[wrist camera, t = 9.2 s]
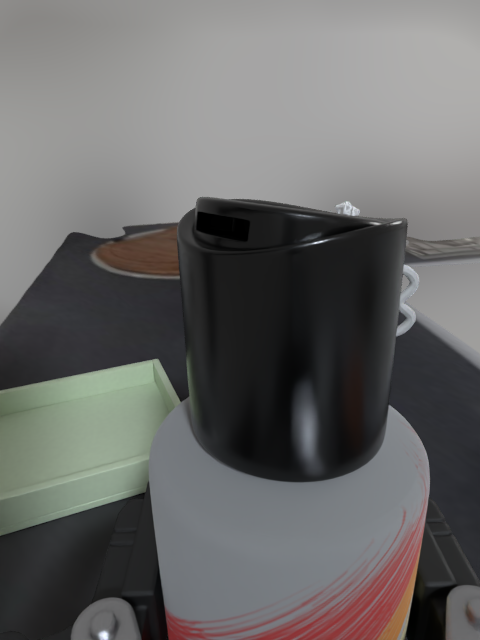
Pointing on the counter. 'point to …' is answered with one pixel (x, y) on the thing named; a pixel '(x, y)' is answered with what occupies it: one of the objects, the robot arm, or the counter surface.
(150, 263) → the counter surface
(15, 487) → the green tray
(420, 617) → the robot arm
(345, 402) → the lotion bottle
